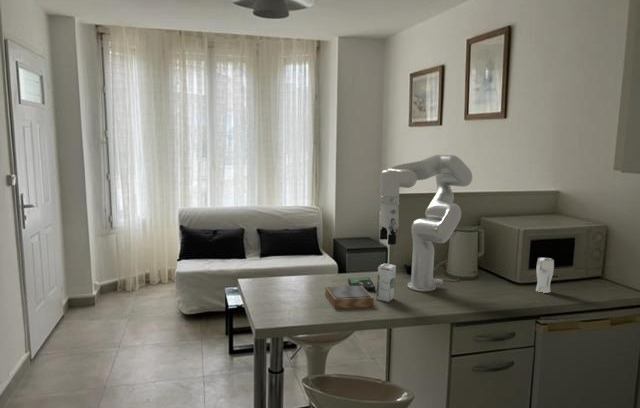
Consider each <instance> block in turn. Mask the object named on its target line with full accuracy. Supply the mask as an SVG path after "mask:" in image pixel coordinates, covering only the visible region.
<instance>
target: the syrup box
mask: <svg viewBox="0 0 640 408" xmlns="http://www.w3.org/2000/svg"><path fill="white" fill-rule="evenodd" d="M396 271H397V266H396V265H395V264H390V263H383V264H380V265H378V267H377V282H376V284H377V285H376V300H377V301H383V302H387V303H389V302H391V301H393V300H394V298H395V286H396Z"/></svg>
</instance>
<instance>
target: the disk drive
mask: <svg viewBox="0 0 640 408" xmlns="http://www.w3.org/2000/svg"><path fill="white" fill-rule="evenodd" d="M347 283H348V286H363V287H364V288H365V289H366V290H367V291H368V292H369V293H376V286H375V284H374V283H373V281H372V279H371V278H370V277H349V278H348V279H347Z"/></svg>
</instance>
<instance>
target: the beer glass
mask: <svg viewBox="0 0 640 408" xmlns="http://www.w3.org/2000/svg"><path fill="white" fill-rule="evenodd" d="M554 268H555V260H554V259H553V258H550V257H538V258H537V262H536V269H535V270H536V281H537V283H536V287H535V292H537V291H538V292H537V293H539V292H543V293H542V294H544V293H549V292H550V293H551V281H552V278H553V276H554ZM550 293H549V294H550Z"/></svg>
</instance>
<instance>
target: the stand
mask: <svg viewBox="0 0 640 408" xmlns="http://www.w3.org/2000/svg"><path fill="white" fill-rule="evenodd" d="M324 287H325V290H324V291H325V292H324V296H325V297H326V298H327V301H328V302H329V303H330V304H331V306H332V307H333V309H352V308H356V309H357V308H373V307H374V302H375V301H374V300H375V298H374V296H373V295H372V294H371V292H368V291H367V290H366V289H365V288H364V287H363V286H350V285H346V286H344V285H343V286H324Z"/></svg>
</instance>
